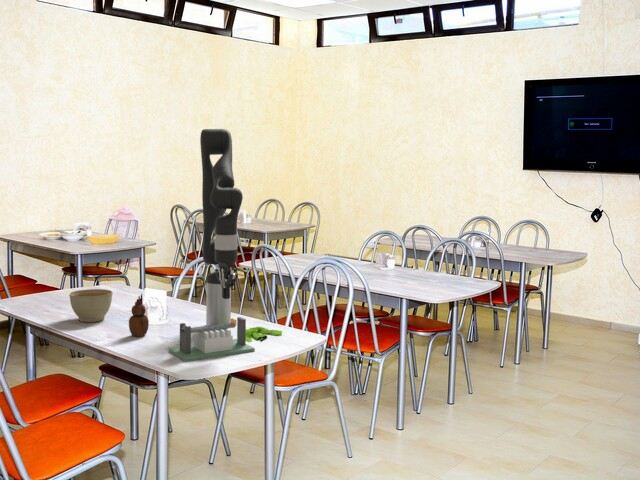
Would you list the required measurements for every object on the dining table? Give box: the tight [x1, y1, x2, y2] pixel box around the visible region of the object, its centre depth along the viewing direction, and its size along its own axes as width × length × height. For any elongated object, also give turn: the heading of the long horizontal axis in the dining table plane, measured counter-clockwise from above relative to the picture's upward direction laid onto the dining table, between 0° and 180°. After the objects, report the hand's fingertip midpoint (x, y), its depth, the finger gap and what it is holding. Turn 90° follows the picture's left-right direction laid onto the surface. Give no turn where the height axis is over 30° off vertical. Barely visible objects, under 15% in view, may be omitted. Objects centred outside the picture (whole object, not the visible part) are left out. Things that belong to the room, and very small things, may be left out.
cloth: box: [246, 326, 283, 343], centre depth 259 cm, size 20×22×2 cm
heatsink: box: [168, 316, 256, 363], centre depth 237 cm, size 14×25×10 cm, turn 123°
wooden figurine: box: [128, 293, 150, 337], centre depth 254 cm, size 7×6×15 cm
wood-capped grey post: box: [181, 317, 237, 334], centre depth 236 cm, size 19×3×2 cm, turn 123°
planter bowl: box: [68, 288, 113, 323], centre depth 276 cm, size 16×16×11 cm
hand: (225, 298), depth 238 cm, fingers closed
